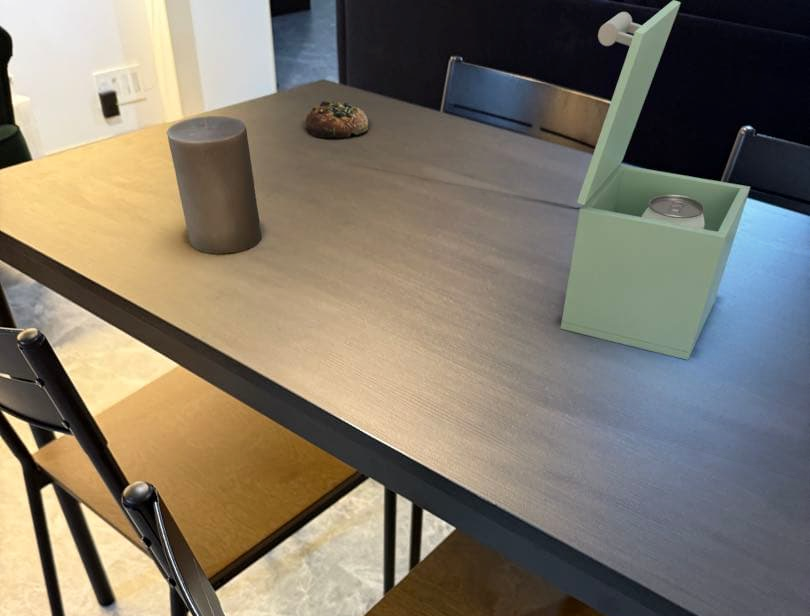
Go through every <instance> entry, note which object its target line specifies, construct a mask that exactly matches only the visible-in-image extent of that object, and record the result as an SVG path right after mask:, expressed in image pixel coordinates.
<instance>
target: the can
mask: <svg viewBox="0 0 810 616" xmlns="http://www.w3.org/2000/svg"><path fill="white" fill-rule="evenodd" d="M704 211H705V207H704V205H703V204H702V203H701V202H699V201H697V200H695V199H693V198H690V197H686V196H680V195H661V196H657V197H654V198H652V199H651V200H650V201H649V207H648V208H647V209H646V211H645V212H644V213H643V215H642V218H648V219H653V220H658V221H663V222H668V223H674V224H679V225H684V226H689V227H695V228H700V229H704V225H705V222H704V217H703V212H704Z"/></svg>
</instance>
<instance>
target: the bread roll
mask: <svg viewBox="0 0 810 616" xmlns="http://www.w3.org/2000/svg"><path fill="white" fill-rule="evenodd" d="M305 126H306V128H307V130H308V131H309V132H310V134H312V135H313V136H314V137H315V138H326V139H327V138H329V139H330V138H331V139H333V138H346V137H351V135H352V134H353V135H360V134H364V133H365V132H367V131H368V130H369V127H368V126H369V120H368V117H367V115H366V114H365V112H364V111H363V110H361V109H360V108H359V107H357V106H355V107H353V106H352V105H350V104H348V102H344V103H343V102H338V101H336V100H335V101H329V100H324V101H322V102H321V103H320V104H319V106H313V107H312V109H311V110H310V112H308V113H307V114H306V119H305Z"/></svg>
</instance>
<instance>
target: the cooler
mask: <svg viewBox="0 0 810 616" xmlns="http://www.w3.org/2000/svg"><path fill="white" fill-rule="evenodd" d="M750 189H751V186H748V185H742V184H736V183H731V182H725V181H719V180H713V179H707V178H700V177H695V176H689V175H683V174H677V173H673V172H672V173H671V172H666V171H659V170H654V169H647V168H642V167H636V166H631V165H630V166H629V165H624V164H619V165H618V166H617V167H616V169H615V170H614V171H613V172H612V173H611V174H610V176H609V177H608V178H607V179H606V180H605V181H604V183H603V184H602V185H601V186H600V187H599V189H598V190H597V191H596V192H595V193H594V194H593V196H592V197H591V198H590V199H589V200H588V201H587V203H586V204H585V205H582V206H581V207H580V208H579V211H578V219H577V225H576V229H575V237H574V243H573V249H572V255H571V262H570V267H569V273H568V280H567V286H566V292H565V297H564V304H563V311H562V316H561V322H560V329H561V330H565V331H568V332H573V333H577V334H581V335H585V336H589V337H593V338H597V339H600V340H604V341H609V342H613V343H617V344H622V345H625V346H630V347H634V348H638V349H641V350H646V351H651V352H654V353H657V354H662V355H666V356H670V357H674V358H677V359H683V360H686V361H687V360H689V359H690V357H691V354H692V353H693V351H694V348H695V346H696V343H697V341H698V340H699V337H700V335H701V334H702V333H701V332H702V330H703V328H704V326H705V324H706V322H707V319H708V317H709V315H710V313H711V311H712V309H713V307H714V303H715V301H716V298H717V295H718V291H719V290H720V285H721V282H722V279H723V275H724V273H725V269H726V266H727V263H728V259H729V257H730V254H731V250H732V247H733V244H734V241H735V238H736V234H737V231H738V228H739V225H740V221H741V219H742V216H743V212H744V210H745V205H746V203H747V200H748V196H749V193H750ZM661 195H680V196H686V197H690V198H693V199H695V200H697V201H699V202H701V203H702V204H703V205H704V207H705V211H704V212H703V217H704V222H705V225H704V229H700V228H695V227H689V226H684V225H679V224H674V223H668V222H663V221H658V220H653V219H648V218H642V215H643V213H644V212H645V211H646V209H647V208H648V207H649V201H650V200H651V199H652V198H654V197H657V196H661Z"/></svg>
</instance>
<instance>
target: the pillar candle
mask: <svg viewBox="0 0 810 616" xmlns="http://www.w3.org/2000/svg"><path fill="white" fill-rule="evenodd" d="M166 136H167V140H168V144H169V150H170V154H171V158H172V159H171V160H172V164H173V168H174V173H175V178H176V183H177V188H178V192H179V198H180V203H181V207H182V211H183V216H184V221H185V226H186V230H187V236H188V240H189V243H190V245H191V246H192V248H194V249H196V250H197V251H199V252H203V253H209V254H217V255H218V254H229V253H238V252H243V251H246V250H249V249H251V248H252V247H254V246H256V245H257V244H259V242H260V241H261V240H262V239H263V235H262V231H261V226H260V215H259V209H258V208H259V207H258V202H257V196H256V188H255V180H254V173H253V166H252V160H251V152H250V151H251V150H250V145H249V138H248V130H247V126H246V123H244V122H243V121H242V120H240V119H238V118H235V117H229V116H222V115H221V116H220V115H219V116H218V115H212V116H199V117H192V118H188V119H183V120H181V121H179V122H178V123H175V124H174V123H173V124H172V125H171V126H169V127H168V129H167V130H166Z"/></svg>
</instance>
